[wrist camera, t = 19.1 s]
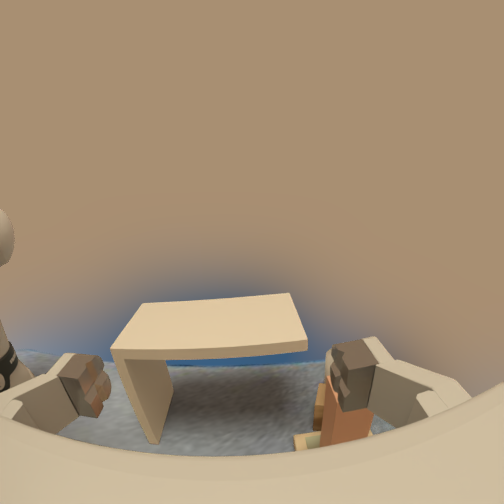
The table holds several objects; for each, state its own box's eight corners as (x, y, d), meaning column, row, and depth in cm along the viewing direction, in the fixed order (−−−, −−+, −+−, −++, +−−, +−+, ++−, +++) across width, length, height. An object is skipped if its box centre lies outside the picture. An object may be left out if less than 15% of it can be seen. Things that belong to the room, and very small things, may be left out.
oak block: (312, 430, 37) (314, 405, 36) (317, 409, 42) (319, 383, 40) (345, 432, 36) (350, 406, 34) (347, 410, 40) (351, 384, 39)
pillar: (359, 461, 28) (379, 393, 24) (326, 468, 28) (337, 402, 24) (350, 438, 32) (364, 368, 29) (319, 444, 32) (326, 375, 29)
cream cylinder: (318, 398, 44) (321, 358, 42) (329, 384, 47) (332, 344, 45) (341, 406, 41) (347, 365, 39) (351, 390, 45) (357, 350, 42)
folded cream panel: (304, 439, 35) (307, 339, 31) (149, 443, 35) (109, 348, 31) (291, 384, 49) (289, 292, 45) (166, 390, 49) (142, 303, 44)
